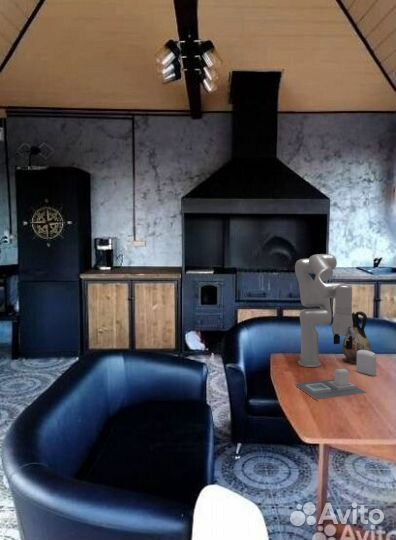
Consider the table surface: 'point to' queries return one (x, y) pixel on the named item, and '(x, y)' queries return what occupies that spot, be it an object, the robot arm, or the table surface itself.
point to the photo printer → (366, 362)
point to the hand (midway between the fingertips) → (342, 346)
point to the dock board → (328, 389)
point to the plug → (342, 377)
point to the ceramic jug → (357, 338)
